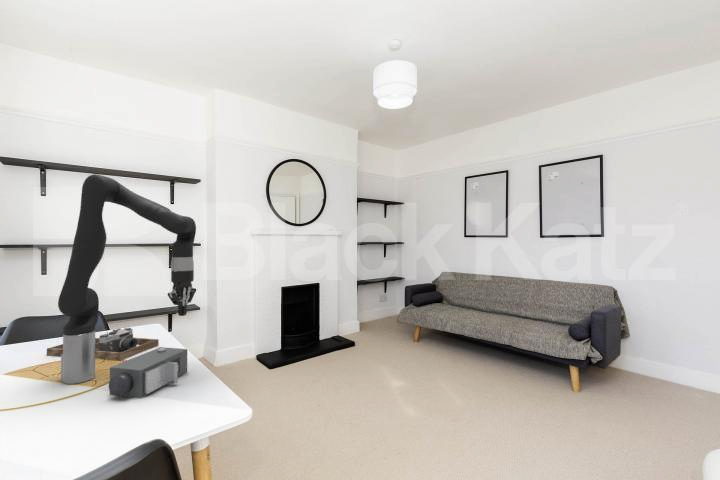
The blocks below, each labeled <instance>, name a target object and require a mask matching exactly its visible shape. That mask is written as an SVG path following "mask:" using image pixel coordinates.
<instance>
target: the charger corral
mask: <svg viewBox="0 0 720 480" xmlns="http://www.w3.org/2000/svg"><path fill="white" fill-rule="evenodd" d="M96 349H99V337H95V350H96ZM62 354H63V343H61V344H58V345H55V346H51V347H48V348H46V356H49V357H50V356H51V357H58V358H61V355H62Z"/></svg>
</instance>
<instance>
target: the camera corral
mask: <svg viewBox="0 0 720 480" xmlns="http://www.w3.org/2000/svg"><path fill="white" fill-rule="evenodd" d="M133 338H134V339H136V340H137V346H136V347H134V348H131V349H129V350H123V351H120V352H108V351H99V349H96V350H95V359H98V360H99V359H100V360H111V361H112V360H113V361H123V360H125V359H128V358H130V357H133V356H136V355H138V354H141V353H144V352H147V351H148V350H151V349H153V348H156V347H158V346H159V340H160V339H158V338H146V337H145V338H143V337H133ZM159 347H160V346H159Z"/></svg>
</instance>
